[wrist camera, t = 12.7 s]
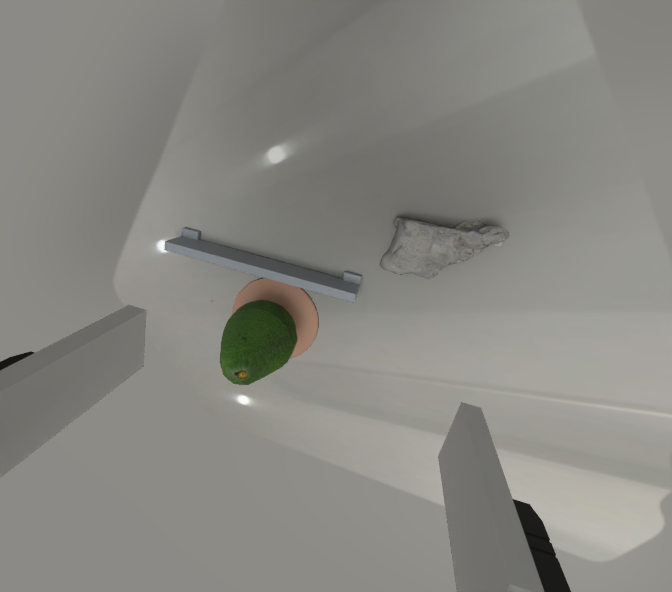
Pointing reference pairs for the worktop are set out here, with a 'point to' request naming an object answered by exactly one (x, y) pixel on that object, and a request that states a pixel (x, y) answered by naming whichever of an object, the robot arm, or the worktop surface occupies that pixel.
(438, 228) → the stone
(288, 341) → the fruit
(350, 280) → the acrylic wall
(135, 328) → the robot arm
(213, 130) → the worktop surface
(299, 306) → the saucer
